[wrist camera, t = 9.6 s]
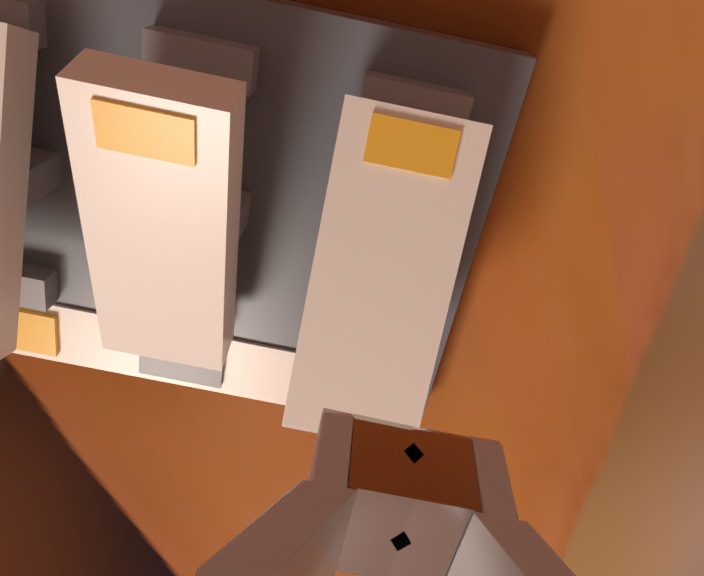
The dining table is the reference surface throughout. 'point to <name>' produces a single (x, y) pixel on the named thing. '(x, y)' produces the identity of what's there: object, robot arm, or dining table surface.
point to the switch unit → (245, 157)
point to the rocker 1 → (14, 167)
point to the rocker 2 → (157, 201)
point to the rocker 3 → (384, 262)
